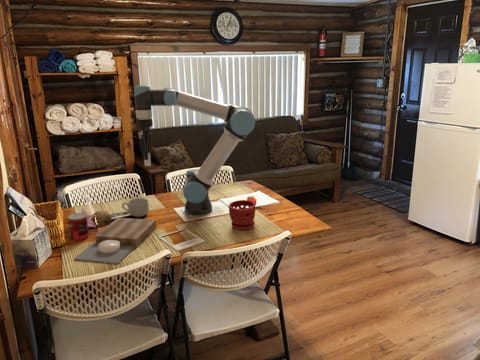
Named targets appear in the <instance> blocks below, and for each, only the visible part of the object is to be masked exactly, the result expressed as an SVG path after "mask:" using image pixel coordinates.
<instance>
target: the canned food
mask: <svg viewBox="0 0 480 360" xmlns="http://www.w3.org/2000/svg"><path fill="white" fill-rule="evenodd" d="M67 219H68V220H67V221H68V226H69V232H70V233H69V234H70V238H71V240H73V241H75V242H76V241H77V242H78V241H79V242H80V241H84V240H86V239H88V238H89V237H90V236H89V235H90V234H89V226H88V224H87V216H86V214H84V213H81V212H76V213H75V214H74V213H72V214H70V215H68V216H67Z"/></svg>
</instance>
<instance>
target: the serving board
mask: <svg viewBox="0 0 480 360" xmlns="http://www.w3.org/2000/svg"><path fill="white" fill-rule="evenodd" d="M155 229H157V221H156V219H144V218H143V219H142V218H130V217H128V218H127V217H117V218H116V219H114V220H113V221H111V222H110V223H108V224H107V226H105V227H104V228H103V229H102V230H100V231H99V232H97V234H96V235H94V239H95V243H101V242H103V241H106V240H117V241H119V242H120V245H122V246H134V248H138V247H139V246H140V245H141V244H142V243H143V242H144V241H145V240H146V239H147V238H148V237H149V236H150V235H151V234H152V232H153V231H155Z"/></svg>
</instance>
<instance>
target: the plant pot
mask: <svg viewBox="0 0 480 360" xmlns="http://www.w3.org/2000/svg"><path fill="white" fill-rule="evenodd" d="M247 207H248V208H247ZM228 212H229V218H230V220H231V226H232V227H233V228H234V229H236V230H238V231H239V230H241V231H246V230H249V229H251V228H253V227H254V226H255V223H256V222H255V221H254V220H255V217H256V204H255V202H254V201H251V200H248V199H247V200H246V199H241V200H234V201H231V202H230V203H229V204H228Z"/></svg>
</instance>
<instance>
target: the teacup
mask: <svg viewBox="0 0 480 360" xmlns="http://www.w3.org/2000/svg"><path fill="white" fill-rule="evenodd" d="M125 205H126V206H127V208H126V207H125ZM121 207H122V210H124V211H127V213H128V214H129V215H131V216H133V217H134V216H135V217H134V218H142V217H144V216H146V215H147V214H148V213H149V210H150V209H149V199H148V198H144V197H138V198H132V199H130V200H128V202H127V201H123V202H122V204H121Z"/></svg>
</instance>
